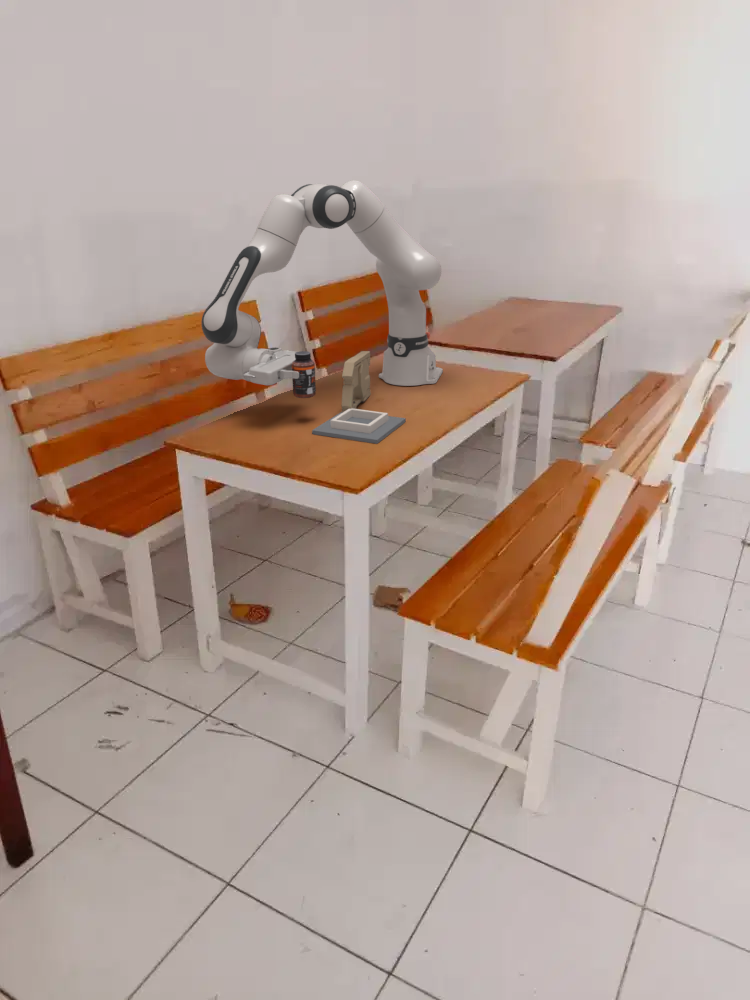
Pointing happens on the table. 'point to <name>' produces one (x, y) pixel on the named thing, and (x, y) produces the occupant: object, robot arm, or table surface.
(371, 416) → the holder
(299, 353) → the supplement bottle
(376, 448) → the table surface
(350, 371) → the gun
